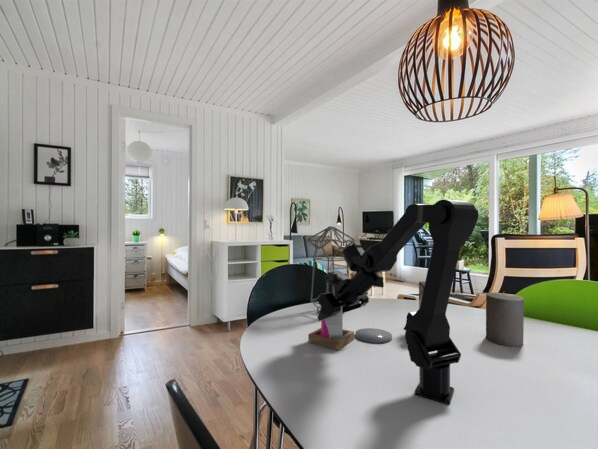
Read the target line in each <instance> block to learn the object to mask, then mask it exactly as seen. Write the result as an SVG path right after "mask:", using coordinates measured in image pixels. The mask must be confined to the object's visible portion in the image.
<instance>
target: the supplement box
mask: <svg viewBox="0 0 598 449" xmlns="http://www.w3.org/2000/svg"><path fill="white" fill-rule="evenodd" d="M320 321H321V324H320V326H321V327H320V328H321V336H325V337H329V338H334V339H339V338H341V337H342V336H343V314H342V306H341V311H340V312H339V313H337V315H335V316H332V317H329V318H326V319H323V320H320Z"/></svg>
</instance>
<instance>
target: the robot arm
mask: <svg viewBox="0 0 598 449" xmlns="http://www.w3.org/2000/svg"><path fill="white" fill-rule="evenodd" d="M478 220H479V210H478V209H477V208H476V206H475V204H473V203H472V202H470V201H467V200H456V199H440V200H438V201H436V202H435V203H433V204H424V203H412V204H409V205H408V206H407V207H406V209H405V213H404V214H403V215H401V217H400V218H399V219H398V221H397V222H396V223H395V224H394V225H393V227H391V229H390V230H389V231H388V232H387V233H386V234H385V236H384V237H383V238H382V239H381V240H380V241H379V242H378V243H376V244H373V245H371V246H370V247H368V248H367V249H366V250H364V249H363V247H362V244H361V243H360V242H359V241H358V242H357V241H354V242H353V243H352V244H351V245H350V246H348V247H347V248H345V249H344V250H343V249H342V250H341V251H342V252H341V256H342V257H343V258H344V259H343V260H345V263H346V266H347V265H348V268H349V270H350V271H351V272H355V273H354V274H353V275H352V276H351V277H350V276H349V277H348V276H347V274H345V273H343V272H342V271H341V270H338V269H336V270H335V269H334V271H332V270H329V272H328V274H327V273H326V274H325V275H324V276H325V277H324V280H325V282H326V283H327V282H328V283H329V285H331V286H332V285H333V286H334V287H335V294H337V297H336V295H335V296H334V295H333V293H332V291H329V292H326V291H325V292H322V293H320V294H319V295H318V296H317V297H316V299H317V300H316V302H318V303H319V304H318V305H320V306H321V307H320V308H321V309H320V310H319V311H320V312H318V313H319V314H318V313H317V314H318V315H317V320H318V321H321V320H323V319H326V318H329V317H332V316H335V315H337V313H339V312H340V311H341V306H342V313H343V314H345V313H347V312H350V311H354V310H357V309H360V308H362V307H365V306H366V305H367V304H368V303H369V299H370V298H369V296H368V294H369V293H368V292H369V291H370V290H371V289H372V288H373V287H377V288H384V286H385V283H384V277H383V276H380V274H379V273H385V272H387V273H388V272H389V271H391V270H392V269H393V268H394V265H395V264H396V262H397V260H398V254H399V252H401V250H402V249H403V248H404V247H405V246H406V245H407V244H408V243H409V242H410V241H411V240H412V239H413V237H415V236H416V234H417V233H418V232H419V231H420V230H421V229H422V228H423V227H424V226H425V225H426V224H427V223H428V231H429V235H430V236H431V240H432V248H431V253H430V256H429V257H430V258H429V262H428V266H427V272H426V278H425V281H424V282H425V286H424V290H423V295H422V300H421V305H420V308H419V307H418V309H417V310H416V311H409V312H408V313H407V314H406V322H405V325H404V327H403V330H404V331H405V333H404V339H405V342H406V346H407V350H408V355H409V360H410V361H411V363H413V364H414V365H415V366H416V367H417V368H418V367H419V382H418V384H417V386H416V388H415V389H414V394H415V395H416V396H421V397H423V398H427V399H430V400H434V401H437V402H441V403H444V404H446V405H447V404H451V402H452V398H453V395H454V392H455V387H453V386H451V364H452V365H453V364H458V363H459V362H460V360H461V357H462V354H461V352H460V350H459V349H458V347H457V346H456V344H455V343H454V341H453V340H452V338H451V337H450V331H451V328H450V327H451V326H450V323H449V321H448V318H447V314H446V313H447V308H448V305H449V300H450V295H451V291H452V286H453V283H454V279H455V274H456V268H457V265H458V261H459V256H460V252H461V248H462V247H463V245H464V244H465V243H466V242H467V241H468V240H469V238H470V237H471V236H472V235H473V232H474V229H475V227H476V224H477V223H478Z"/></svg>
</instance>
